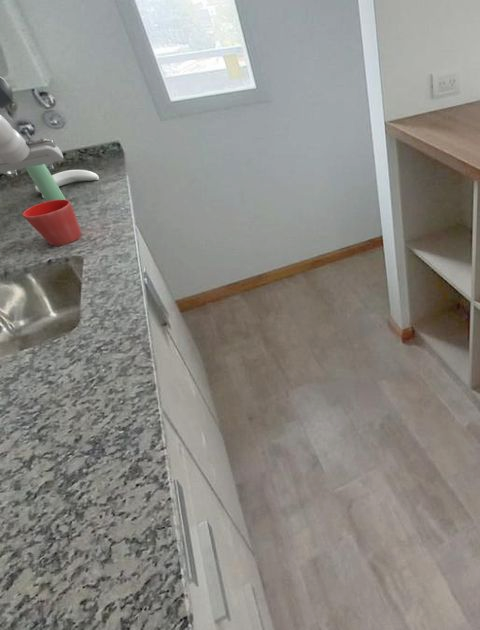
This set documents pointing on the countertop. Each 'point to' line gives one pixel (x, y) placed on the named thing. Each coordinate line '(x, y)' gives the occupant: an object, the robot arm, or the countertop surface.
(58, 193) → the soap bottle
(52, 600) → the countertop surface
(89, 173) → the banana
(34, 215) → the flower pot
